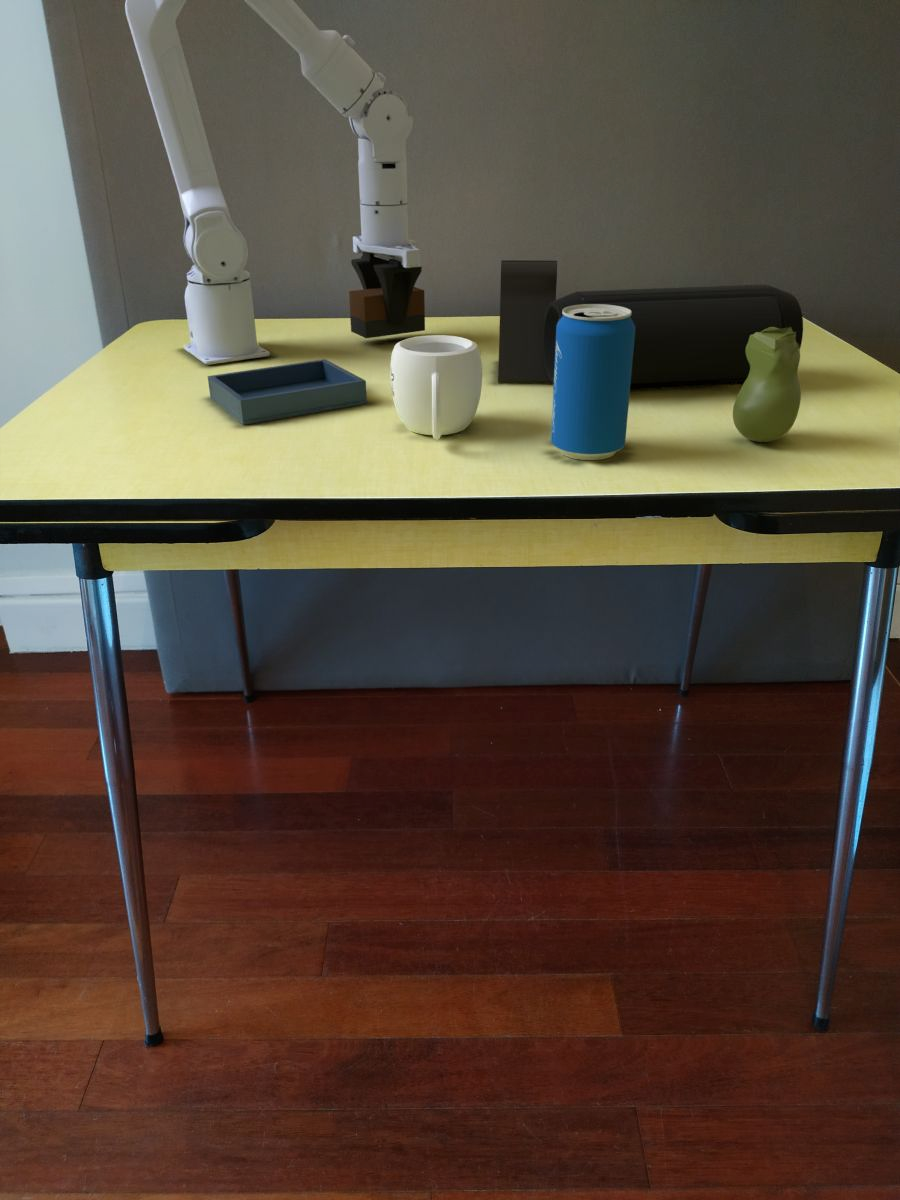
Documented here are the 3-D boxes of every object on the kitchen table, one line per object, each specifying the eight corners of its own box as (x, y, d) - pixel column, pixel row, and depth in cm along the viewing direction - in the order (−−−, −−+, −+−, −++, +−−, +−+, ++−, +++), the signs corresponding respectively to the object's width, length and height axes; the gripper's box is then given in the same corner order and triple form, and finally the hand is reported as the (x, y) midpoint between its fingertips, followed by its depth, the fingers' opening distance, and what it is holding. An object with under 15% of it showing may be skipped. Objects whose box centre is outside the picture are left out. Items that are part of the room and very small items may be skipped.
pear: (804, 446, 81) (826, 332, 76) (754, 453, 79) (773, 337, 74) (764, 427, 86) (782, 318, 81) (716, 434, 84) (732, 323, 79)
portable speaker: (755, 367, 104) (770, 276, 99) (797, 391, 96) (815, 293, 91) (539, 378, 101) (542, 284, 96) (562, 404, 92) (568, 303, 87)
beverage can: (544, 439, 83) (550, 303, 77) (614, 437, 83) (625, 302, 78) (557, 464, 77) (565, 320, 71) (632, 461, 78) (646, 318, 72)
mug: (394, 414, 90) (391, 333, 86) (479, 413, 90) (480, 332, 86) (388, 456, 79) (384, 366, 76) (485, 455, 79) (486, 365, 76)
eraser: (350, 331, 116) (348, 290, 114) (408, 324, 120) (407, 284, 117) (366, 338, 113) (364, 296, 110) (425, 330, 116) (424, 290, 114)
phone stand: (552, 384, 99) (558, 268, 93) (497, 383, 99) (499, 268, 93) (551, 363, 107) (556, 254, 101) (500, 362, 107) (502, 254, 101)
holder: (210, 398, 95) (207, 376, 94) (326, 380, 101) (325, 358, 100) (243, 425, 87) (240, 400, 86) (367, 403, 93) (366, 380, 92)
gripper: (443, 207, 105) (443, 326, 112) (386, 196, 116) (389, 306, 123) (388, 210, 102) (392, 333, 109) (335, 199, 113) (342, 312, 120)
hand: (387, 319), depth 115 cm, fingers closed on eraser, 4 cm apart
